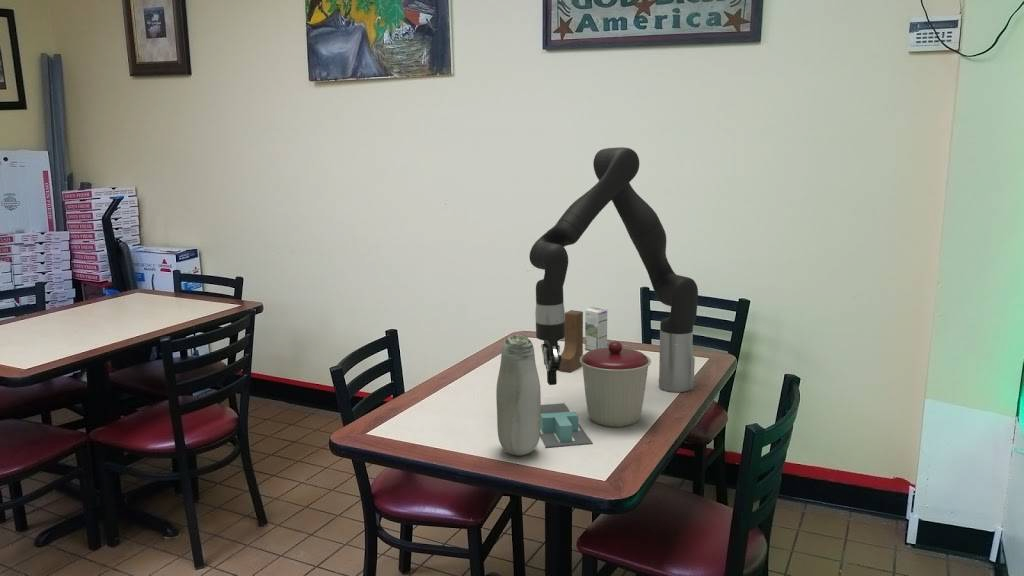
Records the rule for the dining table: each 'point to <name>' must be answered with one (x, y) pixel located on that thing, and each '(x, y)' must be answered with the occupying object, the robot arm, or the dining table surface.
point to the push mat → (551, 438)
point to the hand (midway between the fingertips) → (551, 383)
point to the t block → (559, 424)
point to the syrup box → (595, 328)
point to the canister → (614, 384)
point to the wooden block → (572, 341)
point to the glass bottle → (518, 397)
